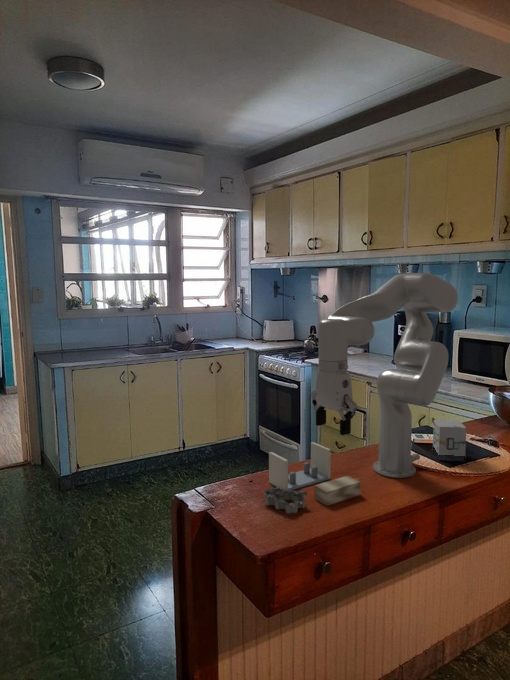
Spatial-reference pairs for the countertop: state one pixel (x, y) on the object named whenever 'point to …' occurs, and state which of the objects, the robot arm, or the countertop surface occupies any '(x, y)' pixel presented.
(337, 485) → the beige wavy block
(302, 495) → the egg carton
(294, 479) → the peg stand
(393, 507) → the countertop surface
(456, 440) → the ink box
